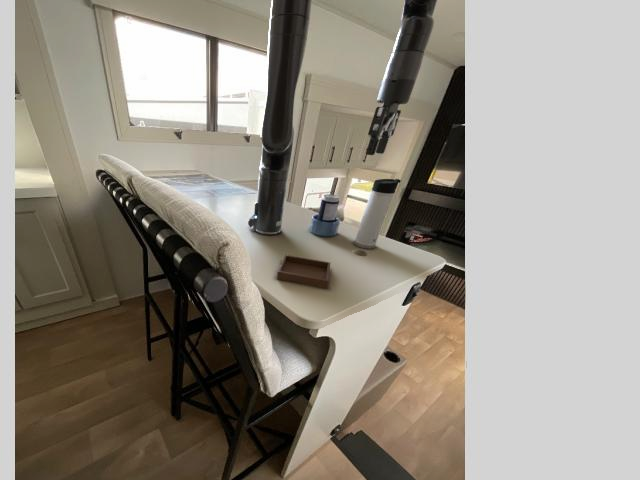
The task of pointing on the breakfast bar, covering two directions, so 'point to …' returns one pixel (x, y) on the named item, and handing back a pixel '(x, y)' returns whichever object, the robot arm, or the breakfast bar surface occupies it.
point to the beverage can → (328, 208)
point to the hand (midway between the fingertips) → (374, 154)
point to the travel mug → (375, 212)
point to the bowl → (324, 227)
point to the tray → (304, 271)
